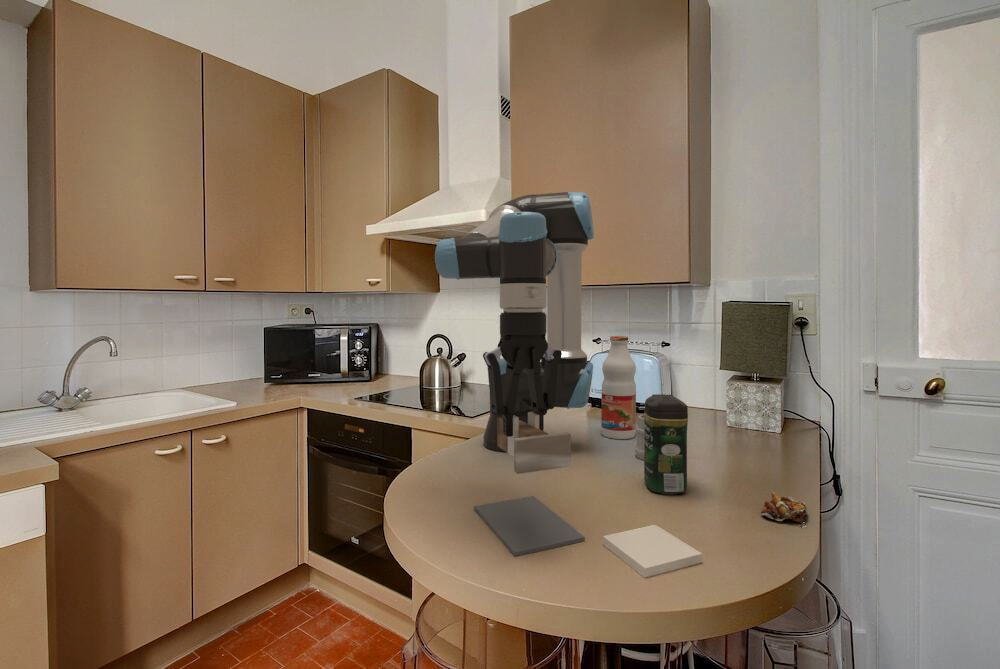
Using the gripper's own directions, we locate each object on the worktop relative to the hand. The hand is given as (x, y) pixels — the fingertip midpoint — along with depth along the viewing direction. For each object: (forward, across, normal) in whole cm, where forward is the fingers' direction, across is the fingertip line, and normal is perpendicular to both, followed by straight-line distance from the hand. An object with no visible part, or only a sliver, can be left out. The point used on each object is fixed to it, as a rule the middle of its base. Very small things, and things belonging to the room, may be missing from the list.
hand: (523, 453), depth 80 cm
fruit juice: (+13, +49, +41) cm, 65 cm away
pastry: (+13, +45, -13) cm, 49 cm away
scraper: (+1, 0, +1) cm, 1 cm away
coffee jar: (+13, +34, +5) cm, 36 cm away
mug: (+13, +43, +20) cm, 49 cm away
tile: (+12, +14, -10) cm, 21 cm away
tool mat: (+12, +1, +1) cm, 13 cm away
